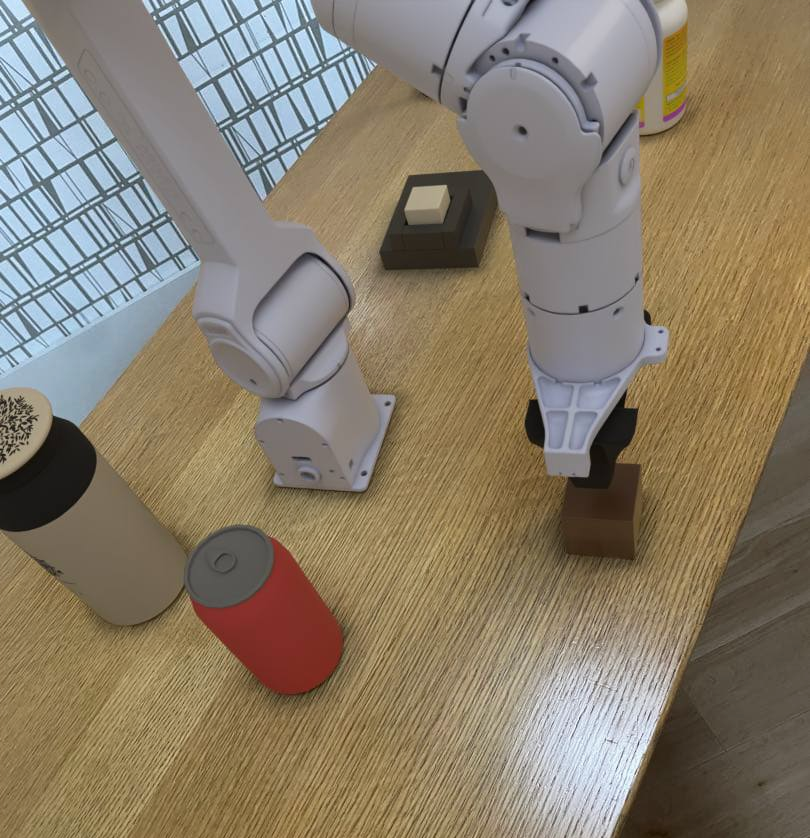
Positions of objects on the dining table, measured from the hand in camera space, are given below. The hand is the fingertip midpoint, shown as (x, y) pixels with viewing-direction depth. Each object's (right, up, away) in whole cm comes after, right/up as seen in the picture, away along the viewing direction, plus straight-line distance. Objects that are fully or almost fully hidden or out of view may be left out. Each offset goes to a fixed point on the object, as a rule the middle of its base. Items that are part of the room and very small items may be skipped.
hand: (597, 452), depth 50 cm
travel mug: (-32, -9, +15) cm, 36 cm away
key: (-9, +24, +25) cm, 35 cm away
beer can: (-19, -13, +8) cm, 24 cm away
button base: (-8, +24, +29) cm, 38 cm away
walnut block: (+2, -5, +7) cm, 8 cm away
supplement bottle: (+12, +35, +30) cm, 48 cm away
